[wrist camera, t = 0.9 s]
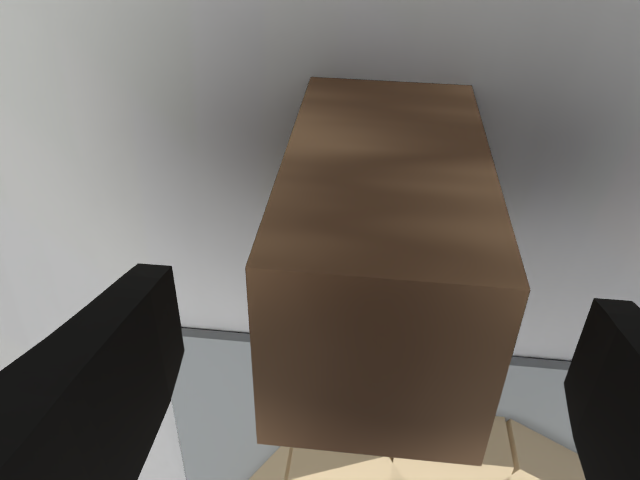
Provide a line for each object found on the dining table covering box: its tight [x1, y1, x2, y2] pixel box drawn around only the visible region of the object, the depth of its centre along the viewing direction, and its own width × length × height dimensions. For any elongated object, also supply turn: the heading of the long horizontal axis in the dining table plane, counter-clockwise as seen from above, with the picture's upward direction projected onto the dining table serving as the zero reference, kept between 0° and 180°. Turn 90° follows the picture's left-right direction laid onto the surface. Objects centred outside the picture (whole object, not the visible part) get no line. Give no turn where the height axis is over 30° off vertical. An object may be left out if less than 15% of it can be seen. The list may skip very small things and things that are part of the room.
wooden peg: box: [245, 77, 530, 466], centre depth 13 cm, size 4×4×8 cm
